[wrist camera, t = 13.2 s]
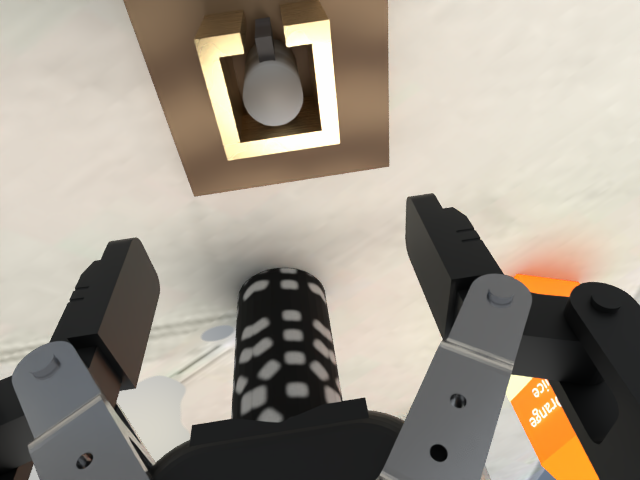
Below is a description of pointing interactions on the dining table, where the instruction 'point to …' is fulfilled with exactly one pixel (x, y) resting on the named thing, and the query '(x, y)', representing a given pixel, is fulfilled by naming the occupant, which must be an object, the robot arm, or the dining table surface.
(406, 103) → the dining table surface
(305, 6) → the slotted square frame
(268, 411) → the spotted tube
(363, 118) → the shaft stand
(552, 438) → the orange juice
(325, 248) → the dining table surface
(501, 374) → the robot arm
